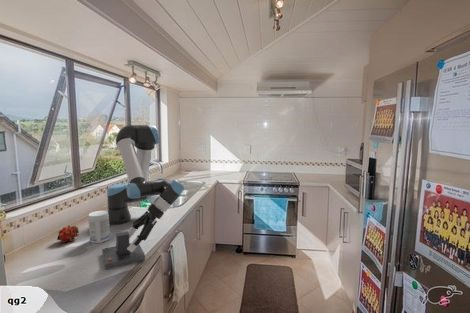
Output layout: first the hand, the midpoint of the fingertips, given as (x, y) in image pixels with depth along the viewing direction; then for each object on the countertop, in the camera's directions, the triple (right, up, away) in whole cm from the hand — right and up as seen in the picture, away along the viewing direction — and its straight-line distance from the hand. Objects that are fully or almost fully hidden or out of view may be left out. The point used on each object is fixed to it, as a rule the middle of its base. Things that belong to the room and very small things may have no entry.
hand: (126, 244), depth 121 cm
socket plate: (-2, -6, 0) cm, 6 cm away
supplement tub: (-22, -4, +19) cm, 29 cm away
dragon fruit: (-38, -4, +17) cm, 42 cm away
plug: (-2, -6, 0) cm, 6 cm away
